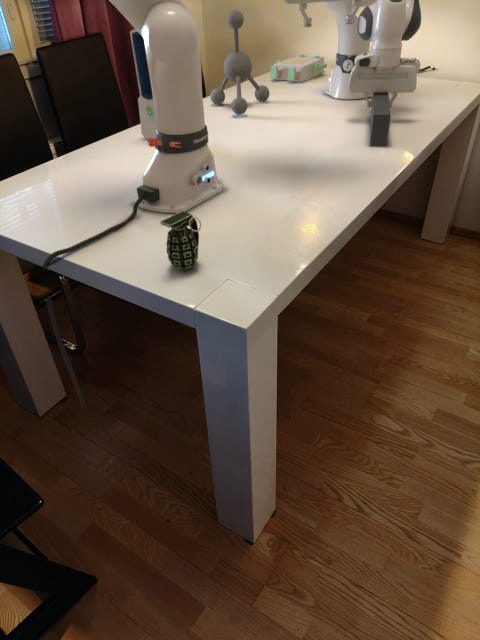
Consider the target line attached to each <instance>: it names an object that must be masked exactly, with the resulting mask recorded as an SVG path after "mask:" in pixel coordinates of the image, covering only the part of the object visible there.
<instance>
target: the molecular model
mask: <svg viewBox="0 0 480 640" xmlns="http://www.w3.org/2000/svg"><path fill="white" fill-rule="evenodd" d="M244 18H245V17H244V15H243V13H242V12H241V11H239V10H238V9H233V10H231V11H229V13H228V15H227V17H226V23H227V25H228V27H229V28H230V29H232V30H233V44H234V45H233V46H234V51H233V52H230V53H229V54H228V55H227V56H226V58H225V59H224V62H223V72H224V75H225V77H224V79H223V81H222V83H221V85H220V87H218V88H217V87H216V88H214V89H213V90H212V91H210V96H209V97H210V101H211V102H212V103H213V104H214V105H216V106H217V105H221V104H223V103H224V102H225V100H226V94H225V91H224V89H225V87H226V86H227V84H228V81H230V82H232V83H235V84H236V85H235V87H236V97H235V98H234V99H232V102H231V106H230V107H231V110H232V113H234V114H235V115H238V116H239V115H243V114H245V113H246V112H247V110H248V102H247V100H246V99H245V98H243V97H242V83H244V82H245V81H247V80H248V82H249V83H250V84H251V85H252V86H253V87H254V89H255V90H254V97H255V99H256V100H257V101H258V102H261V103H263V102H266V101H267V100H268V99H269V97H270V89H269V88H268V87H267V86H266V85H263V84H261V85H259V84H258V83H257V82H256V80H255V79H254V78H253V77H252V75H251V73H252V70H253V69H252V68H253V66H252V65H253V64H252V61H251V59H250V57H249V55H248V54H246V53H245V52H243V51H240V45H239V29H241V28H242V26H243V25H244V22H245V21H244V20H245V19H244Z"/></svg>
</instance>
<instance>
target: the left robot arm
mask: <svg viewBox="0 0 480 640" xmlns="http://www.w3.org/2000/svg"><path fill="white" fill-rule="evenodd" d="M108 1H109V2H110V4H112V5H113V6H114V7H115V9H117V11H118V12H119V13H120V14H121V15H122V16H123V17H124V18H125V20H127V22H129V24H130V25H131V26H132V27H133V29H136V30H137V31H138V33H139V34H140V35H141V36H142V37H143V39H144V43H145V50H146V56H147V62H148V69H149V75H150V82H151V88H152V94H153V101H154V108H155V114H156V121H157V128H158V129H157V130H156V138H152V137H150V138H149V139H147V146H149V147H151V148H152V147H154V148H155V151H154V153H153V155H152V157H151V159H150V162H149V163H148V165H147V167H146V169H145V172H144V173H143V176H142V185H140V186H138V187H136V192H137V193H136V194H137V197H135V199H134V204H133V206H132V212H131V214H130V215H129V216H128V218H127V219H126V220H124V221H122V222H119V223H117V224H115V225H113V226H111V227H109V228H107V229H105V230H103V231H102V232H100V233H97V234H95V235H94V236H90V237H89V238H86V239H84V240H82V241H80V242H78V243H76V244H73V245H72V246H69V247H66V248H62V249H58V250H56V251H53V252H52V253H50V254H49V255H48V256H47V257H46V258H45V260H44V262H43V264H42V265H41V266H42V267H41V268H42V269H46V268H48V267H49V265H50V263H51V261H53V260H54V259H55V258H57V257H58V256H61V255H65V254H69V253H72V252H75V251H76V250H78V249H80V248H83V247H84V246H87V245H89V244H91V243H93V242H95V241H98V240H99V239H101V238H103V237H105V236H107V235H109V234H111V233H112V232H115V231H117V230H119V229H121V228H123V227H125V226H126V225H127V224H128V223H130V222H131V221H132V220H134V218H135V217H136V216H137V214H138V208H140V209H142V210H143V209H144V210H147V211H151V212H157V213H164V214H177V213H179V212H181V211H184V212H187V211H189V210H190V209H193V208H194V207H196V206H198V205H199V204H201V203H203V202H205V201H207V200H208V199H210V198H212V197H214V196H215V195H217V194H219V193H220V192H222V191H223V185H222V184H220V183H219V180H218V174H217V168H216V163H215V156H214V155H213V153H212V152H211V149H210V147H209V145H208V143H209V130H208V126H207V124H206V121H205V108H204V98H203V97H204V96H203V83H202V82H203V80H202V77H203V76H202V56H201V39H200V31H199V30H200V29H199V26H198V23H197V21H196V19H195V18H194V16H193V14H192V13H191V12H190V11H189V9H188V8H187V7H186V5H185V4H184V3H183V1H182V0H108ZM283 1H284V2H285V4H286V5H296V4H297V5H298V10H299V13H300V14H301V16H302V17H303V28H305V29H306V28H307V29H309V28H312V21H313V18H312V17H311V16H308V14H307V13H306V10H307V9H308V4H311V3H312V4H314V3H323V2H330V1H345V0H283ZM352 5H354V7H353V9H352V11H351V13H350V15H346V24H347V25H352V24H354V17H355V15H356V16H357V13H358V12H359V9H360V8H361V7H360V6H361V0H352ZM45 301H46V306H47V310H48V316H49V319H50V323H51V326H52V330H53V333H54V335H55V340H56V342H57V344H58V347H59V348H58V349H59V351H60V352H61V355H62V358H63V360H64V363H65V366H66V368H67V371H68V373H69V376H70V378H71V380H72V383H73V385H74V388H75V391H76V394H77V397H78V399H79V403H80V405H81V408H82V409H86V408H87V404H86V401H85V399H84V395H83V393H82V390H81V387H80V384H79V381H78V379H77V377H76V373H75V372H74V369H73V366H72V363H71V361H70V359H69V356H68V353H67V351H66V347H65V345H64V342H63V339H62V337H61V334H60V330H59V327H58V324H57V320H56V315H55V312H54V307H53V302H52V299H51V298H48V297H45Z"/></svg>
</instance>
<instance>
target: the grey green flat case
mask: <svg viewBox="0 0 480 640" xmlns="http://www.w3.org/2000/svg"><path fill="white" fill-rule="evenodd" d="M327 65H328V63H325V57H324V56H320V55H305V54H300V55H299V56H295V57H290V58H287V59H284V60H281V59H277V60H276V63H273V64H272V65H270V79H271V80H280V81H287V82H288V81H289V82H297V83H303V82H306V81H308V80H310V79H312V78H315V77H318V76H320V75H321V73H323V72H324V70H325V69H327V68H328V67H327Z"/></svg>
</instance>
